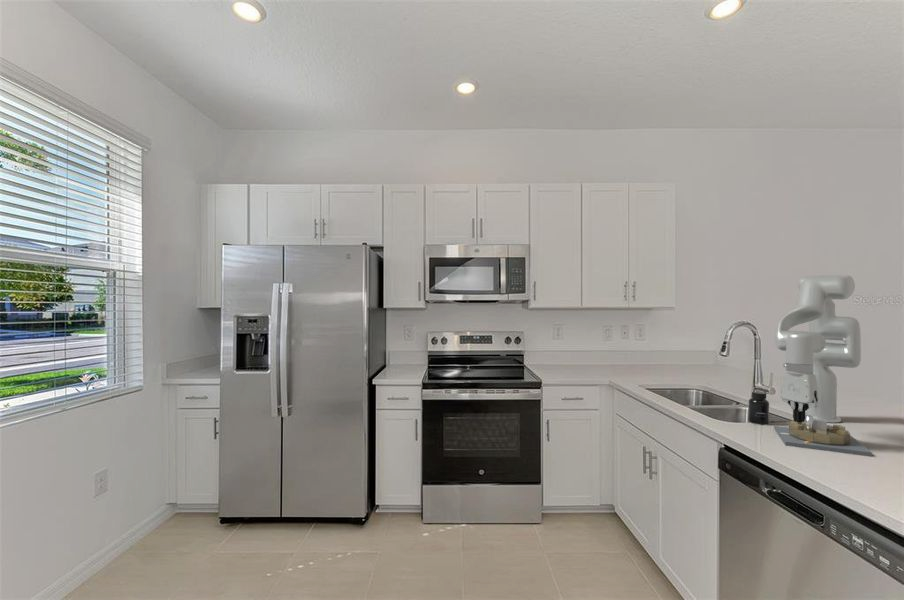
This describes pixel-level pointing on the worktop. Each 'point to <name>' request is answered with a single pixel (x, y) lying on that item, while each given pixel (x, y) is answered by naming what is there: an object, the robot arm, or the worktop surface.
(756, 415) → the supplement bottle
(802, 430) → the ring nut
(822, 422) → the nut base
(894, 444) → the worktop surface
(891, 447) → the worktop surface
